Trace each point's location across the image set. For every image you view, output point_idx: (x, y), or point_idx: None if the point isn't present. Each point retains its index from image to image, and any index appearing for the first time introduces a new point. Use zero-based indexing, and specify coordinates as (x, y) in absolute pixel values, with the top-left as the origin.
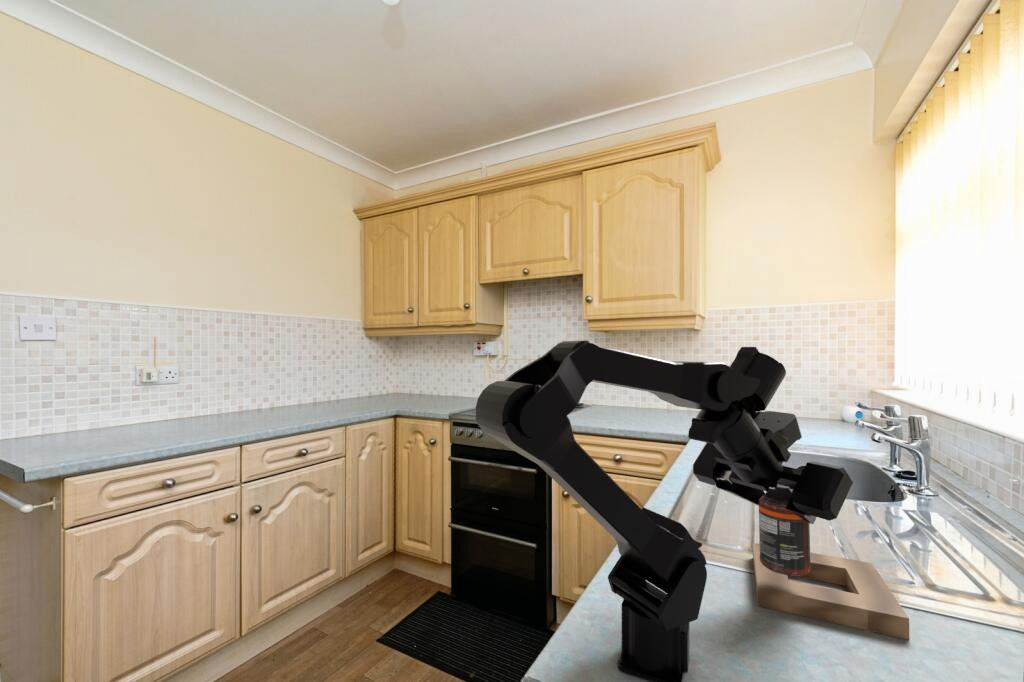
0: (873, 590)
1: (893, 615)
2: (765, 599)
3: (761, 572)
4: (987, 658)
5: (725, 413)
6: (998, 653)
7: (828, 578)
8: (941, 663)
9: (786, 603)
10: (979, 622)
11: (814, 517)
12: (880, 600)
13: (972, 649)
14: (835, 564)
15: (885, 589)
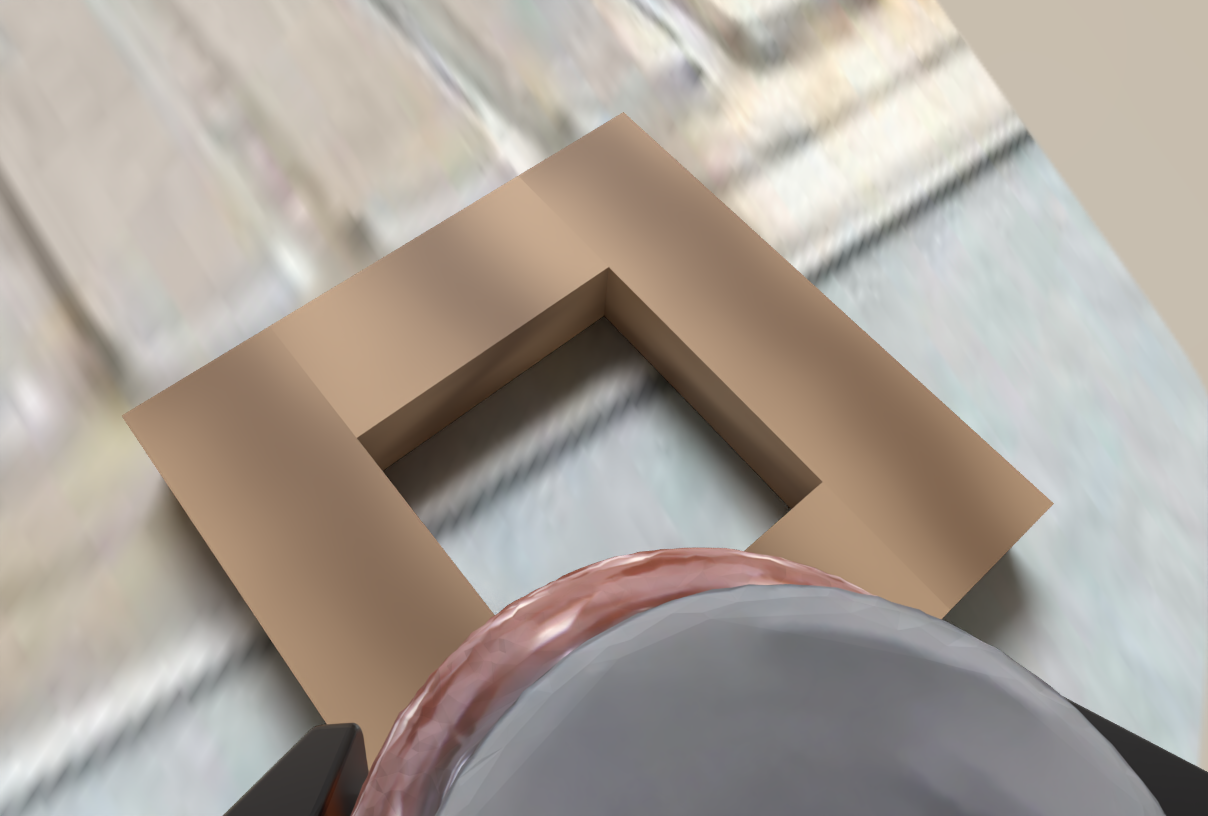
0: (815, 377)
1: (1015, 541)
2: None
3: None
4: (1147, 398)
5: None
6: (1127, 330)
7: (547, 343)
8: (1152, 597)
9: None
10: (967, 172)
11: None
12: (898, 450)
13: (1095, 382)
14: (557, 267)
15: (824, 317)
